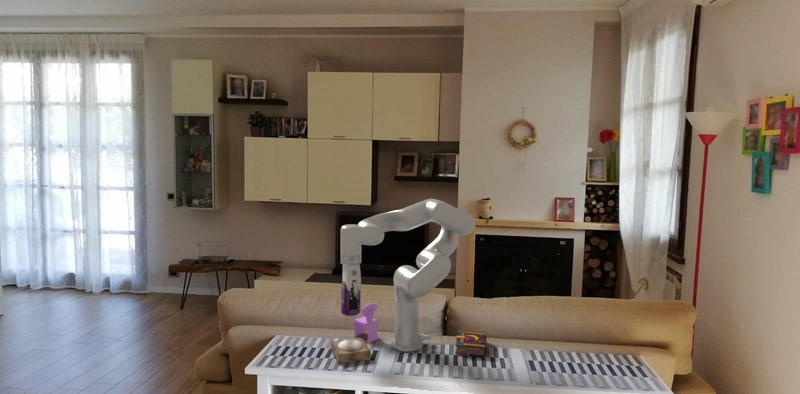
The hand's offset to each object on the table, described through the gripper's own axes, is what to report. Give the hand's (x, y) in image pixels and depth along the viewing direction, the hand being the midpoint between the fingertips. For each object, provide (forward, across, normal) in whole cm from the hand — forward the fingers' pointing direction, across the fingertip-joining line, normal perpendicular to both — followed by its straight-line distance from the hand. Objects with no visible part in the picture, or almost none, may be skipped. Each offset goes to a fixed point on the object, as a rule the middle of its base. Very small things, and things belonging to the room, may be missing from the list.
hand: (350, 305), depth 198 cm
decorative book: (+20, -8, -46) cm, 51 cm away
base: (+19, 0, 0) cm, 19 cm away
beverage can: (+3, 0, 0) cm, 3 cm away
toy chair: (+19, +14, -10) cm, 26 cm away
